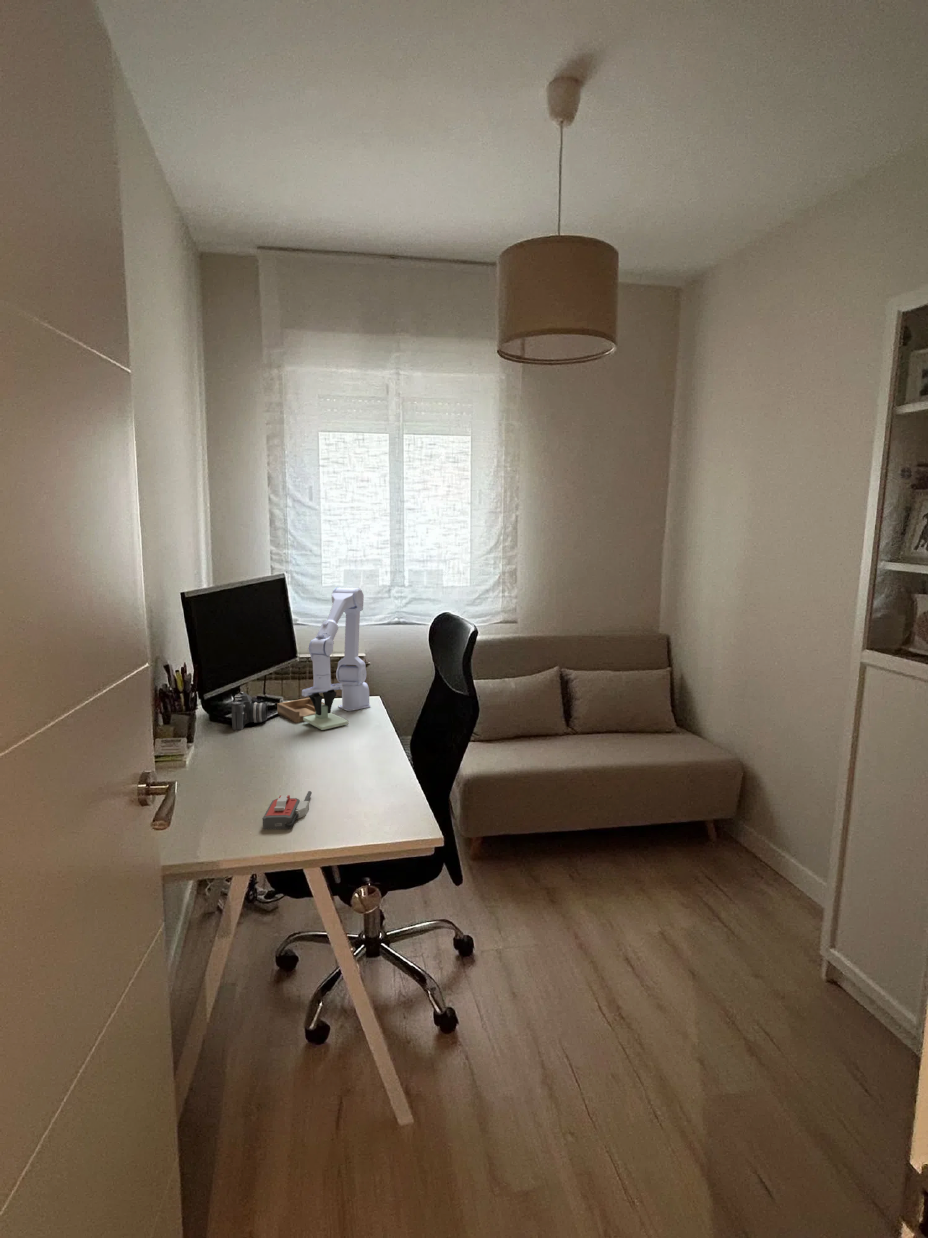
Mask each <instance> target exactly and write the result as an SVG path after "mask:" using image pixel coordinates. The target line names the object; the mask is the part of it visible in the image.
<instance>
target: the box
mask: <svg viewBox="0 0 928 1238" xmlns="http://www.w3.org/2000/svg"><path fill="white" fill-rule="evenodd" d="M321 704H325V702H323V701H322V703H321ZM276 706H277V711H276V712H277V714H278V715H279V716H281V717H283V718H285V719H288V720H289V721H292V722H293V723H295V724H298V723H304V722H305V721H304V720H303V717H306V716H311V715H315V708H314V705H313V703H312V701H311V699H310V697H306V698H305V697H304V698H299V699H295V700H289V701H284V702H279V703H278V702H277V703H276ZM330 712H331V713H332V710H331V711H330Z"/></svg>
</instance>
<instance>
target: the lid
mask: <svg viewBox="0 0 928 1238" xmlns="http://www.w3.org/2000/svg"><path fill="white" fill-rule="evenodd" d="M303 720H304V722H306V723H308V724H310V725H312V726H314V727H315V728H317V729H319V730H321V731H324V730H329V729H332V728H337V727H341V726H345V725H348V724H349V720H347V719H345V718H343V717H340V716H338V715H336V714H335V713H334V712H332V711H331V712H330V713H328V706H327V705H325V704H321V715H317V714H316V711H315V715H311V716H306V717H303Z"/></svg>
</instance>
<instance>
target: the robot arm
mask: <svg viewBox="0 0 928 1238" xmlns="http://www.w3.org/2000/svg"><path fill="white" fill-rule="evenodd" d="M364 596H365V595H364V592H363V590H362V589H361V588H360V587H338V586H337V587H334V588H333V590H332V592H331V604H332V605H331V608H330V611H329V614H328V617H327V619H326V620H323V621H322V622H321V625H320V627H319V630H318V631H317V634H316V636H315V637H314V638H312V639H311V640H310V642H309V645H308V653H309V655H310V659H311V661H312V675H313V686H310V687H307V688H304V689H301V696H302V697H304V698H305V697H306V698H307V697H308V698H310V699H311V701H312V703H313V705H314V708H315V711H316V714H317V715H321V703H322V702H323V701H324V702H323V703H325V705H327V706H328V713H330V711H331V712H332V708H333V707H332V706H333V702H334V701H335V698H336V696H337V690H341V703H342V704H341V705H337V707H338V708H339V709H341V710H345V711H347V712H352V711H356V710H362V709H366V708H371V704H370V689H369V685H368V683H367V682H365V681H366V679H367V675H368V674H367V673H368V672H367V667H366V662H365V661H364V660H363V659H361V658H360V657H359V650H360V648H359V647H360V622H361V621H360V619H361V618H360V617H361V612H362V611H363V610H364ZM343 614H344V615H345V625H344V626H345V628H344V629H345V630H344V652H343V653H344V655H343V658H341V659H340V660H339V661H338V662H337V667H336V668H337V669H336V672H335V676H336V678H335V679H337V683H332V679H331V678H332V675H331V655H332V653H333V651H334V644H335V641H334V640H335V637H336V635H337V633H338V631H339V626H338V622H339V621H340V620H341V617H342V616H343ZM321 693H322V695H323V696H322V695H321Z"/></svg>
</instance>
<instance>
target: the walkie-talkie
mask: <svg viewBox="0 0 928 1238" xmlns="http://www.w3.org/2000/svg"><path fill="white" fill-rule="evenodd" d="M311 796H312V791H311V790H309V791H307V793H306V796H305V798H304V799H303V801H302V800H300V799H299V798H297V797H293V798H292V797H291V796H290V795H289V794H287V795H285V794H284V795H279V797H278V798H275V799H273V800H271V803H270V804H269V805H268V808H267V810H266V812H265V814H264V816H263V817H262V829H264V830H289V829H292V828H293V826H294V823H295V822H296V820H299V819H301V818H303V817H305V816H306V815H307V812H308V811H309V810H310V799H311Z"/></svg>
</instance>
